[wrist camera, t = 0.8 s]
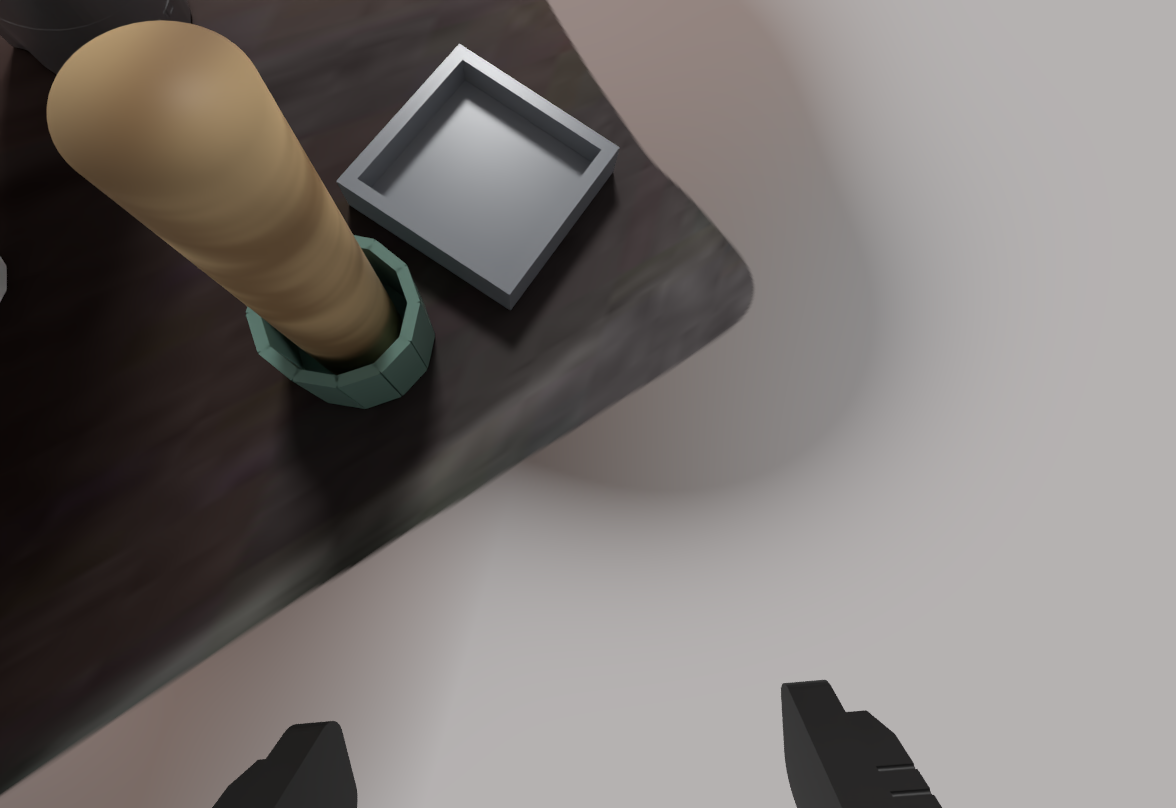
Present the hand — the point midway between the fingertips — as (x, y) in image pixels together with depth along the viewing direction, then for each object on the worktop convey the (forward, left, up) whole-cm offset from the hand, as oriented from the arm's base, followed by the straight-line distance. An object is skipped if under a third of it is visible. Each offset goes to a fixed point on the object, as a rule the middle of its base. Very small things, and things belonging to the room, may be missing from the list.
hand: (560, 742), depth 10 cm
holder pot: (-12, +12, -21) cm, 27 cm away
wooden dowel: (-12, +12, -20) cm, 27 cm away
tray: (-7, +23, -21) cm, 32 cm away
